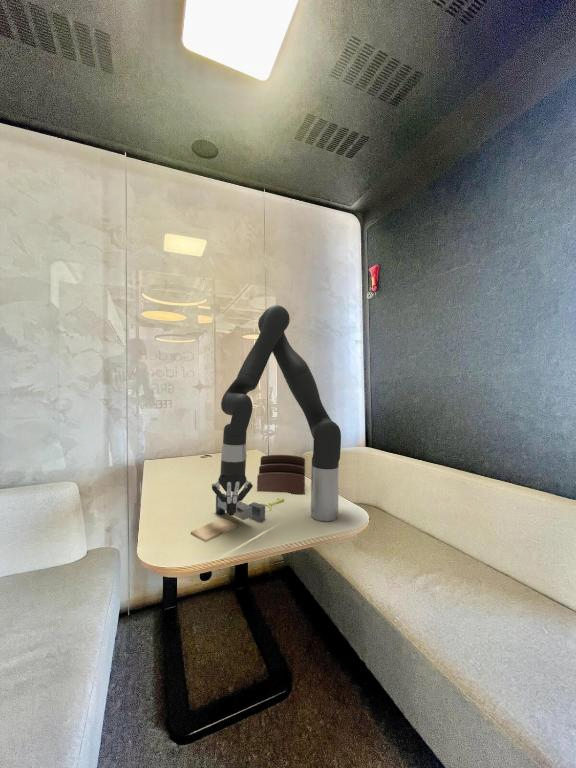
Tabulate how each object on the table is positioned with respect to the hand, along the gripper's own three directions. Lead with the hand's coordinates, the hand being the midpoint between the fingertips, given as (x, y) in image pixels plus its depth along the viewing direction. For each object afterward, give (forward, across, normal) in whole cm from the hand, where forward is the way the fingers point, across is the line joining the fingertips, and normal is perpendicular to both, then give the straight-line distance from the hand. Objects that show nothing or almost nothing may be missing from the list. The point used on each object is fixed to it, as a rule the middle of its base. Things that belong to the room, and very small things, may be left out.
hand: (230, 514), depth 92 cm
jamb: (+5, -2, -8) cm, 9 cm away
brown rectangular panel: (+5, +4, 0) cm, 7 cm away
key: (+5, -16, -14) cm, 22 cm away
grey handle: (+4, -1, -6) cm, 7 cm away
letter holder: (+4, -26, -30) cm, 40 cm away
